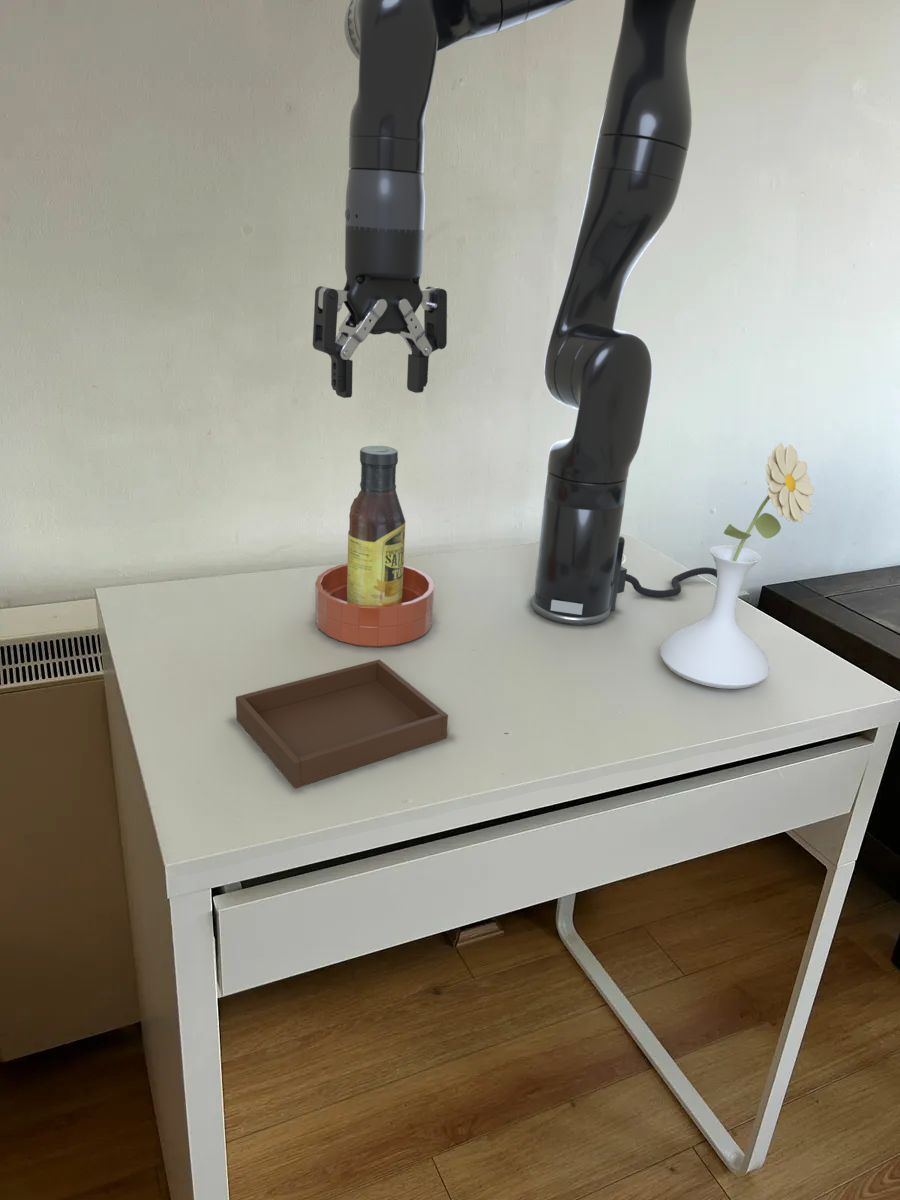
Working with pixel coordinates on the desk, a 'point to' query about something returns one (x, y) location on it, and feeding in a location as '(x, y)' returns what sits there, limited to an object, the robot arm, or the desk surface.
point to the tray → (339, 721)
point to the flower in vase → (738, 590)
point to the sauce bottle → (376, 532)
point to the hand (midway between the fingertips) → (380, 393)
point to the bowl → (373, 610)
